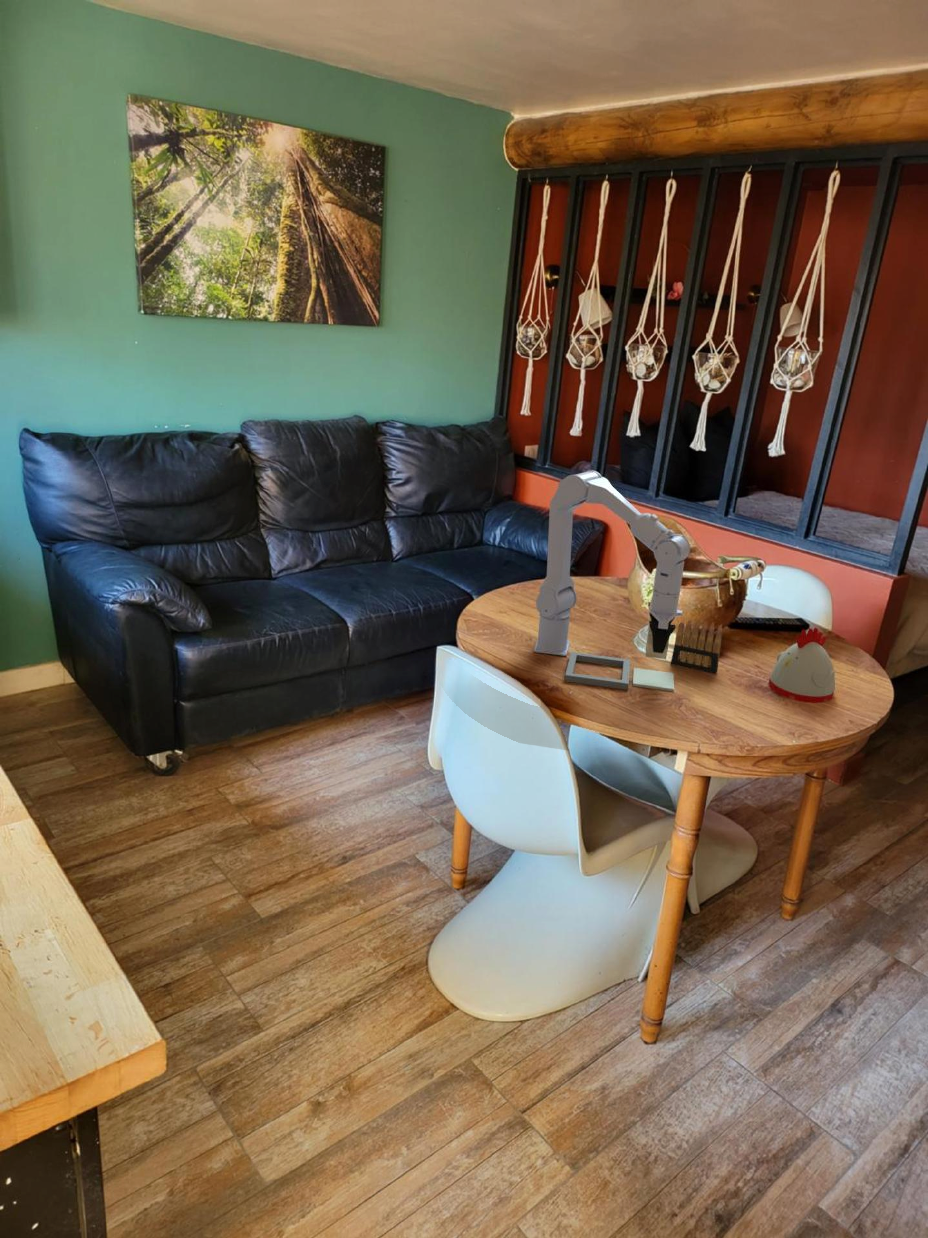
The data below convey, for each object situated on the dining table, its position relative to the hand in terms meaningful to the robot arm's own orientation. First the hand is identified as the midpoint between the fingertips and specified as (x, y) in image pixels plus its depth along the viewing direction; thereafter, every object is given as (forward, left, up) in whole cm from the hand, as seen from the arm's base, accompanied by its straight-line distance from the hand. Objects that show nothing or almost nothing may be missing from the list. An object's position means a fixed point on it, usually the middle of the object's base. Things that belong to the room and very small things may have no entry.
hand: (658, 648), depth 186 cm
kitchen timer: (-7, +33, -8) cm, 35 cm away
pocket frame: (0, -13, -8) cm, 15 cm away
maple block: (0, 0, -2) cm, 2 cm away
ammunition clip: (-11, +9, -8) cm, 17 cm away
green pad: (0, 0, -8) cm, 8 cm away
